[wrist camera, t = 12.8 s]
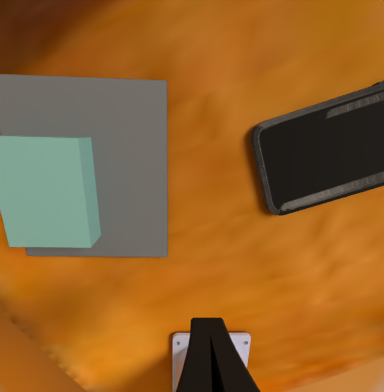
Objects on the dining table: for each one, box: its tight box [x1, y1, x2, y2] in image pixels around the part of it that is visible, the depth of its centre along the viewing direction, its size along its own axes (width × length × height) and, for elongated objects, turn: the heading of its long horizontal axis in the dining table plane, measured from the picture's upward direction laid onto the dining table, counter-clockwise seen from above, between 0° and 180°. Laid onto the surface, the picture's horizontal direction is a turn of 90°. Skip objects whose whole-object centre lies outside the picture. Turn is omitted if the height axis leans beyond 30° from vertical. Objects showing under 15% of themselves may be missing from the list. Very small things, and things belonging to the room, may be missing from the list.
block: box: [0, 135, 101, 248], centre depth 16 cm, size 8×2×6 cm
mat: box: [0, 74, 168, 257], centre depth 17 cm, size 14×12×1 cm
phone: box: [250, 81, 384, 216], centre depth 17 cm, size 8×1×15 cm
